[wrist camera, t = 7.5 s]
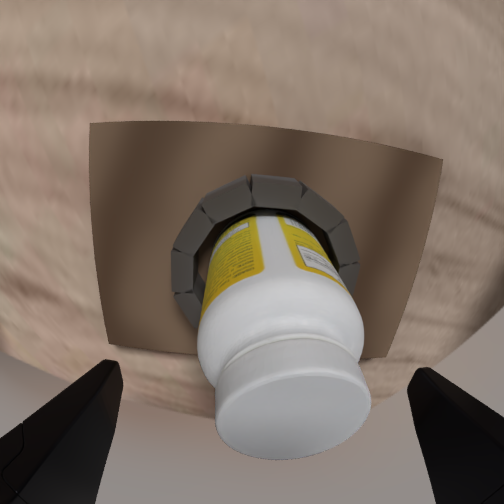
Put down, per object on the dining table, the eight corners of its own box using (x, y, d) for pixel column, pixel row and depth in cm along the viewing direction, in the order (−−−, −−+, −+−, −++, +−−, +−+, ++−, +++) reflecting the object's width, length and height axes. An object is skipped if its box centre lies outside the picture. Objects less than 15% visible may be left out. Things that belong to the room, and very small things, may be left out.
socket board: (428, 155, 15) (465, 165, 12) (378, 343, 20) (396, 377, 17) (102, 122, 14) (70, 124, 11) (116, 329, 19) (98, 364, 16)
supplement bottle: (213, 305, 17) (197, 471, 8) (208, 207, 15) (165, 344, 6) (313, 304, 17) (367, 459, 8) (323, 207, 15) (426, 331, 6)
